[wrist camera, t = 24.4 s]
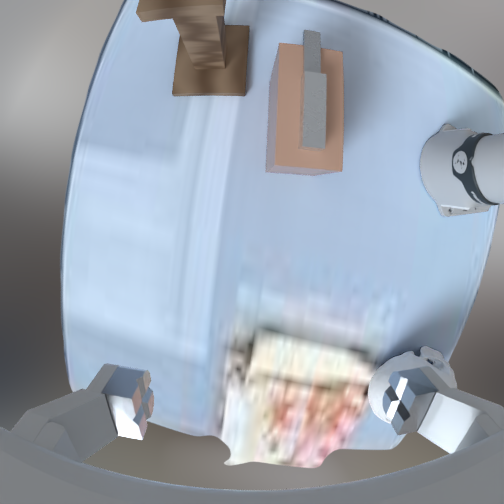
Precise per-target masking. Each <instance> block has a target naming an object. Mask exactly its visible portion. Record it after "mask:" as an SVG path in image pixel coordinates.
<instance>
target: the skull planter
mask: <svg viewBox="0 0 504 504" xmlns="http://www.w3.org/2000/svg"><path fill="white" fill-rule="evenodd" d="M420 352H421V355H420V357H418V356H415V354H414V352H413V351H408V352H405V353H404V354H402V355H399V356H396V357H393V358H391V359H389V360H388V361H387V362H385V363H384V364H383V365H382V366H380V367H379V368H378V369H377V370H376V372H375V373H374V375H373V377H372V379H371V381H370V384H369V389H368V397H369V402H370V405H371V408H372V410H373V412H374V413H375V414H376V415H377V416H378V417H379V418H380V419H382V420H384V421H385V422H387V423H389V424H391V421H392V418H390V417H389V416H387V415H386V414H385V412H384V409H383V406H382V405H383V396H384V392H385V391H386V390H387V389H388V387H389V386H390V384H389V382H388V381H389V378H390V375H391V374H392V373H393V372H395V371H402V370H409V369H415V368H418V367H423V366H429V367H431V368H432V369H433V370H434V371H435V372H436V373H437V374H438V375H439V377H440V378H441V379H442V380H443V381H444V382H445V383H446V384H447V385H448V386H449V387H450V388H456V389H457V384H456V381H455V376H454V372H453V370H452V369H451V368H450V364H449V363H448V362H447V361H446V360H445V359H444V357H443V356H442V354H441V353H440V352H439V351H437V350H434V349H432V348H429V347H428V346H423V347H421V349H420ZM428 359H429V360H430V362H433V365H432V364H430V363H429V362H428V361H427V360H428Z"/></svg>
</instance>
